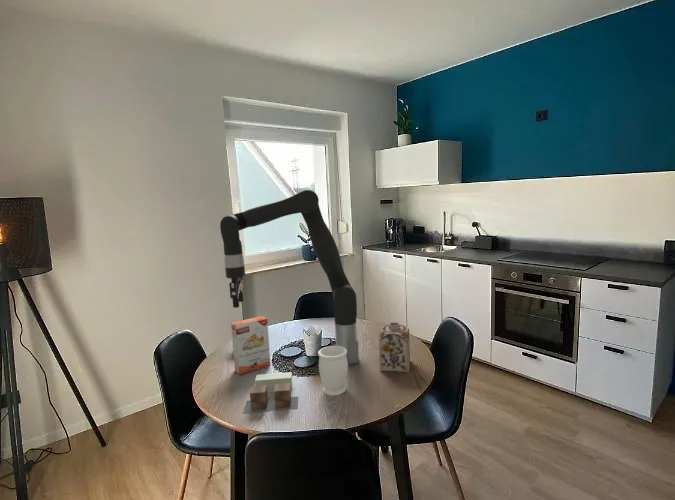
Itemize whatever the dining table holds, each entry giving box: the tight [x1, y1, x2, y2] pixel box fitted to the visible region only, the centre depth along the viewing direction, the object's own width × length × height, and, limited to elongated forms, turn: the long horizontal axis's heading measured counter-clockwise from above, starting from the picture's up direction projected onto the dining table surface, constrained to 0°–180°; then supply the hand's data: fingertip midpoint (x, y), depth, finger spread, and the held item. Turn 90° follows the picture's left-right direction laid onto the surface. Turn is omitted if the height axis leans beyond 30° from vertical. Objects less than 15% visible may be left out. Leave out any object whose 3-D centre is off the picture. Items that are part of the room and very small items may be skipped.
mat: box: [242, 396, 299, 414], centre depth 128 cm, size 18×8×1 cm, turn 94°
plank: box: [254, 371, 294, 393], centre depth 139 cm, size 13×4×6 cm, turn 94°
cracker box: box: [230, 315, 271, 376], centre depth 157 cm, size 14×6×21 cm, turn 126°
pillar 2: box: [273, 383, 292, 408], centre depth 128 cm, size 5×5×6 cm
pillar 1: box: [249, 385, 269, 410], centre depth 128 cm, size 5×5×6 cm
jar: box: [317, 345, 349, 396], centre depth 136 cm, size 11×10×15 cm
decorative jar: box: [378, 321, 411, 373], centre depth 153 cm, size 12×12×18 cm
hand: (238, 304), depth 153 cm, fingers open, 8 cm apart
